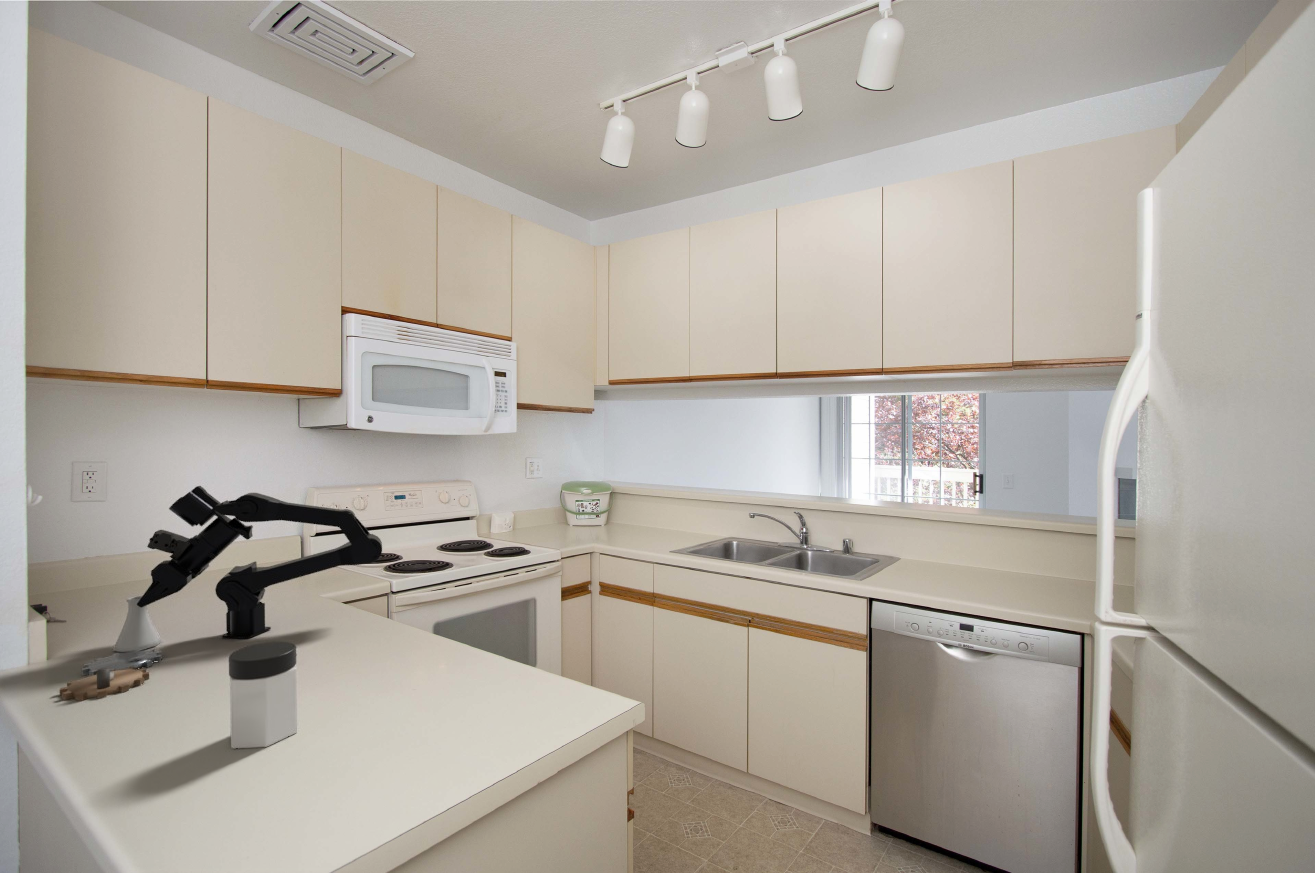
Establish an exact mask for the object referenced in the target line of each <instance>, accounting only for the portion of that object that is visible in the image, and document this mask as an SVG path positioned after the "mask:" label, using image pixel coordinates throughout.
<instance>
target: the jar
mask: <svg viewBox="0 0 1315 873" xmlns="http://www.w3.org/2000/svg"><path fill="white" fill-rule="evenodd" d="M297 655H298V654H297V645H296V644H295V643H293V642H291V641H277V640H276V641H268V642H260V643H256V644H252V645H248V646H245V647H242V648H239V649H237V650H235V651H233V652H232V653H231V654H230V655H229V657H228V676H229V713H230V714H229V715H230V716H229V718H230V720H229V721H230V724H229V726H230V727H229V728H230V748H231V749H233V750H234V749H235V750H236V748H238V749H250V748H251V749H255V748H256V749H257V748H266V747H267V748H268V747H269V746H272V745H273V744H276V743H279V742H280V741H282V740H284V739H286V738H288V736H289V737H290V736H293V735H295V734H296V733H298V729H299V728H298V725H299V724H298V723H299V722H298V721H299V720H298V668H297V665H296V664H297V657H298V656H297Z"/></svg>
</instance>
